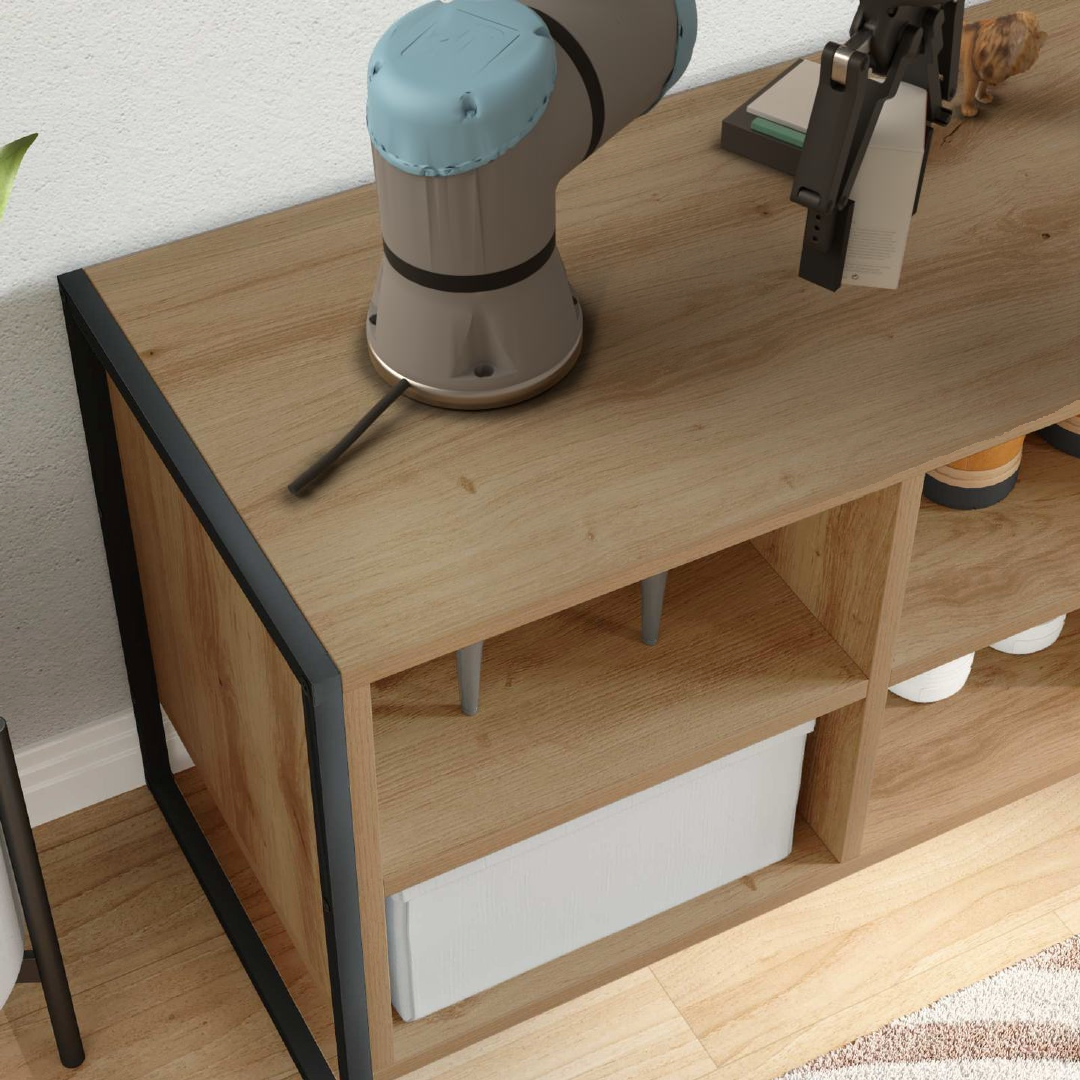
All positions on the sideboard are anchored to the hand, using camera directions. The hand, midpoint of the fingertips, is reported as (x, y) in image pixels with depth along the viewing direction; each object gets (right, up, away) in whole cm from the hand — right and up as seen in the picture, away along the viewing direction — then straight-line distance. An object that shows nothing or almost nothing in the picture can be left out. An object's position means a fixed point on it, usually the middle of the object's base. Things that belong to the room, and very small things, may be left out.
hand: (858, 243), depth 103 cm
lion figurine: (+14, +19, +30) cm, 38 cm away
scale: (+2, +14, +26) cm, 29 cm away
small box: (0, -1, +1) cm, 1 cm away
